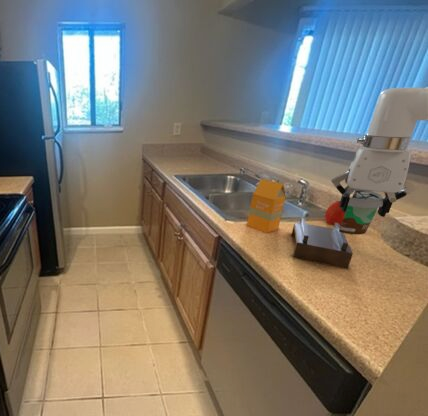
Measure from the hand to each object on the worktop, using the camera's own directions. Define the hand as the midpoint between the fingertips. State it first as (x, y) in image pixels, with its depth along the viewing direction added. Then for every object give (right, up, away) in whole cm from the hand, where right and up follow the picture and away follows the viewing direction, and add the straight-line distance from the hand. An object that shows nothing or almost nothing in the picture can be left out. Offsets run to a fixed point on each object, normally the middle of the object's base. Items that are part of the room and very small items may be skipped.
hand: (361, 212), depth 72 cm
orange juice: (-2, -7, +41) cm, 42 cm away
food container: (0, -5, +2) cm, 5 cm away
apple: (+30, -6, +44) cm, 53 cm away
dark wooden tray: (+6, -14, +23) cm, 28 cm away
